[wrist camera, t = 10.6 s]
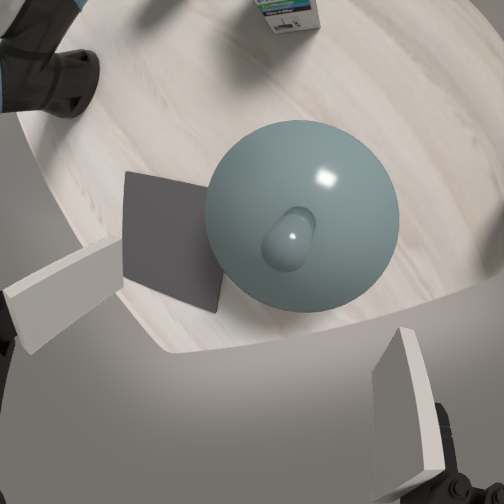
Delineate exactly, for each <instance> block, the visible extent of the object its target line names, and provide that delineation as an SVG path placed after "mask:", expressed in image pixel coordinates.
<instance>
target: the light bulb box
mask: <svg viewBox="0 0 504 504" xmlns="http://www.w3.org/2000/svg"><path fill="white" fill-rule="evenodd" d="M253 1H254V2H255V3H256V5H257V6H258V8H259V9H260V11H261V12H262V14H263V16H264V17H265V19H266V20H267V22H268V24H269V25H270V27H271V29H272V30H273V32H274V34H280V33H286V32H292V31H299V30H307V29H316V28H321V26H320V21H319V16H318V11H317V5H316V1H315V0H253Z"/></svg>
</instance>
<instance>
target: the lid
mask: <svg viewBox="0 0 504 504" xmlns="http://www.w3.org/2000/svg"><path fill="white" fill-rule="evenodd" d="M205 224H206V230H207V236H208V239H209V242H210V246H211V248H212V250H213V253H214V255H215V257H216V259H217V261H218V262H219V264H220V266H221V267H222V269H223V270H224V271H225V273H226V274H227V275H228V277H229V278H230V279H231V280H232V281H233V282H234V283H235V284H236V285H237V286H238V287H239V288H241V289H242V290H243V291H244V292H246V293H247V294H248V295H250V296H251V297H253V298H254V299H256V300H258V301H260V302H262V303H264V304H267V305H269V306H272V307H274V308H278V309H282V310H286V311H292V312H305V313H311V312H320V311H326V310H330V309H334V308H337V307H339V306H342V305H345V304H347V303H349V302H350V301H352V300H354V299H356V298H357V297H359V296H360V295H362V294H363V293H365V292H366V291H367V290H368V289H369V288H370V287H371V286H372V285H373V284H374V283H375V282H376V281H377V280H378V279H379V277H380V276H381V275H382V273H383V272H384V270H385V269H386V267H387V266H388V264H389V262H390V260H391V257H392V255H393V253H394V250H395V246H396V243H397V239H398V232H399V208H398V201H397V197H396V193H395V190H394V187H393V184H392V182H391V180H390V177H389V175H388V173H387V172H386V170H385V168H384V167H383V165H382V164H381V162H380V161H379V160H378V159H377V157H376V156H375V155H374V154H373V153H372V151H371V150H369V149H368V148H367V147H366V146H365V145H364V144H363V143H362V142H360V141H359V140H357V139H356V138H355V137H353V136H352V135H350V134H348V133H346V132H344V131H342V130H340V129H338V128H336V127H333V126H330V125H327V124H324V123H319V122H313V121H302V120H293V121H284V122H278V123H274V124H271V125H267V126H265V127H262V128H260V129H258V130H255V131H254V132H252V133H250V134H248V135H247V136H245V137H244V138H242V139H241V140H240V141H239V142H237V143H236V144H235V145H234V146H233V147H232V148H231V149H230V150H229V151H228V152H227V153H226V154H225V156H224V157H223V158H222V160H221V161H220V163H219V164H218V166H217V168H216V170H215V172H214V174H213V176H212V178H211V181H210V184H209V187H208V191H207V195H206V202H205Z"/></svg>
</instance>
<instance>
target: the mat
mask: <svg viewBox="0 0 504 504" xmlns="http://www.w3.org/2000/svg"><path fill="white" fill-rule="evenodd" d="M207 191H208V187H203V186H199V185H194V184H189V183H185V182H180V181H175V180H170V179H165V178H160V177H155V176H150V175H145V174H139V173H134V172H128V171H127V172H125V184H124V200H123V228H122V257H123V276H125V277H127V278H129V279H131V280H134V281H136V282H138V283H141V284H143V285H145V286H148V287H150V288H152V289H155V290H157V291H160V292H162V293H164V294H167V295H169V296H172V297H174V298H177V299H179V300H182V301H184V302H187V303H190V304H192V305H195V306H197V307H200V308H203V309H205V310H208V311H211V312H214V313H216V312H217V306H218V300H219V293H220V287H221V280H222V274H223V269H222V267H221V266H220V264H219V262H218V261H217V259H216V257H215V255H214V253H213V250H212V248H211V246H210V242H209V239H208V236H207V230H206V224H205V202H206V195H207Z"/></svg>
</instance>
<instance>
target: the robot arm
mask: <svg viewBox="0 0 504 504" xmlns="http://www.w3.org/2000/svg"><path fill="white" fill-rule="evenodd" d="M87 1H88V0H0V38H1V39H2V41H1V43H0V114H1V113H9V112H20V111H34V110H42V111H44V112H47V113H49V114H52V115H54V116H57V117H59V118H73V117H76V116H77V115H79V114H80V113H81V112H82V111H83V110H84V109H85V108H86V106H87V105H88V104H89V102H90V100H91V98H92V96H93V94H94V92H95V89H96V86H97V83H98V78H99V60H98V57H97V56H96V54H95V53H94V52H92V51H88V50H84V49H79V50H73V51H67V52H62V53H54V52H55V51H56V49H57V47H58V46H59V44H60V42H61V40H62V39H63V37H64V35H65V34H66V32H67V31H68V29H69V27H70V26H71V24H72V23H73V21H74V20H75V18H76V17H77V15H78V14H79V13H80V12H81V11H82V8H83V7H84V5H85V4H86V2H87ZM122 287H123V263H122V239H121V238H118V237H116V236H113V235H110V236H108V237H106V238H104V239H102V240H99V241H97V242H95V243H93V244H91V245H89V246H86V247H84V248H82V249H80V250H78V251H76V252H74V253H72V254H70V255H68V256H66V257H64V258H62V259H60V260H58V261H56V262H54V263H52V264H50V265H48V266H46V267H44V268H42V269H39V270H38V271H36V272H34V273H32V274H31V275H28V276H26V277H25V278H23V279H21V280H19V281H17V282H15V283H14V284H12V285H10V286H8V287H7V288H5V289H3V290H1V291H0V412H1V405H2V399H3V393H4V388H5V383H6V378H7V374H8V370H9V366H10V362H11V358H12V354H13V351H14V347H15V339H14V337H15V336H17V335H18V338H19V340H20V343H21V345H22V347H23V348H24V349H25V350H26V351H27V352H28V353H29V354H30V355H32V354H33V353H34V352H35V351H37V350H38V349H39V348H40V347H42V346H43V345H44V344H46V343H47V342H48V341H50V340H51V339H52V338H53V337H55V336H56V335H57V334H59V333H60V332H61V331H63V330H64V329H65V328H67V327H68V326H69V325H71V324H72V323H73V322H75V321H76V320H77V319H79V318H80V317H81V316H83V315H84V314H86V313H87V312H88V311H90V310H91V309H93V308H94V307H95V306H97V305H98V304H100V303H101V302H102V301H104V300H105V299H107V298H108V297H110V295H112V294H114V293H115V292H117V291H118V290H120V289H121V288H122ZM372 384H373V409H374V450H373V472H372V487H371V497H370V503H391V502H393V501H395V500H397V499H398V498H400V504H504V485H503V484H502V483H495V484H493V485H492V486H490V487H488V488H487V489H485V490H484V489H479V488H474V487H472V486H471V483H470V480H469V479H468V478H467V477H466V475H464V474H462V473H458V469H457V462H456V456H455V449H454V443H453V438H452V437H451V435H452V433H451V428H449V426H450V423H449V419H448V414H447V413H446V411H445V409H444V408H443V406H442V405H441V403H434V400H433V395H432V391H431V387H430V383H429V379H428V376H427V372H426V369H425V365H424V361H423V358H422V354H421V351H420V348H419V345H418V342H417V339H416V336H415V333H414V330H411V329H407V328H403V327H400V326H399V327H398V329H397V331H396V333H395V335H394V336H393V338H392V340H391V342H390V343H389V345H388V347H387V348H386V350H385V352H384V354H383V355H382V357H381V358H380V360H379V362H378V363H377V365H376V366H375V368H374V370H373V371H372ZM0 504H6V501H5V499H4V496H3V494H2V493H1V491H0Z"/></svg>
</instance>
